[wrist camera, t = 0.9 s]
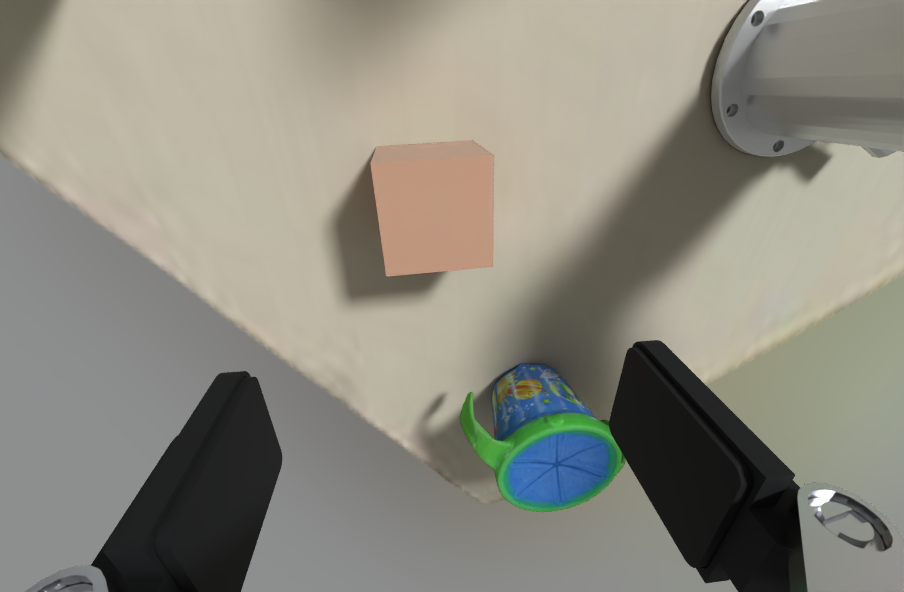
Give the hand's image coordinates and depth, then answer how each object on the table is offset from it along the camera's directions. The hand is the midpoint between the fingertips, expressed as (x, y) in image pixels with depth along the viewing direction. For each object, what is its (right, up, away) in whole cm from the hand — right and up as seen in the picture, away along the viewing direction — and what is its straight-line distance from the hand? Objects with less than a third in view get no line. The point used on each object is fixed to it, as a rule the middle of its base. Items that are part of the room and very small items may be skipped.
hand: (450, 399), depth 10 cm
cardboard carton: (-2, +11, +20) cm, 22 cm away
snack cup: (+8, -7, +31) cm, 32 cm away
